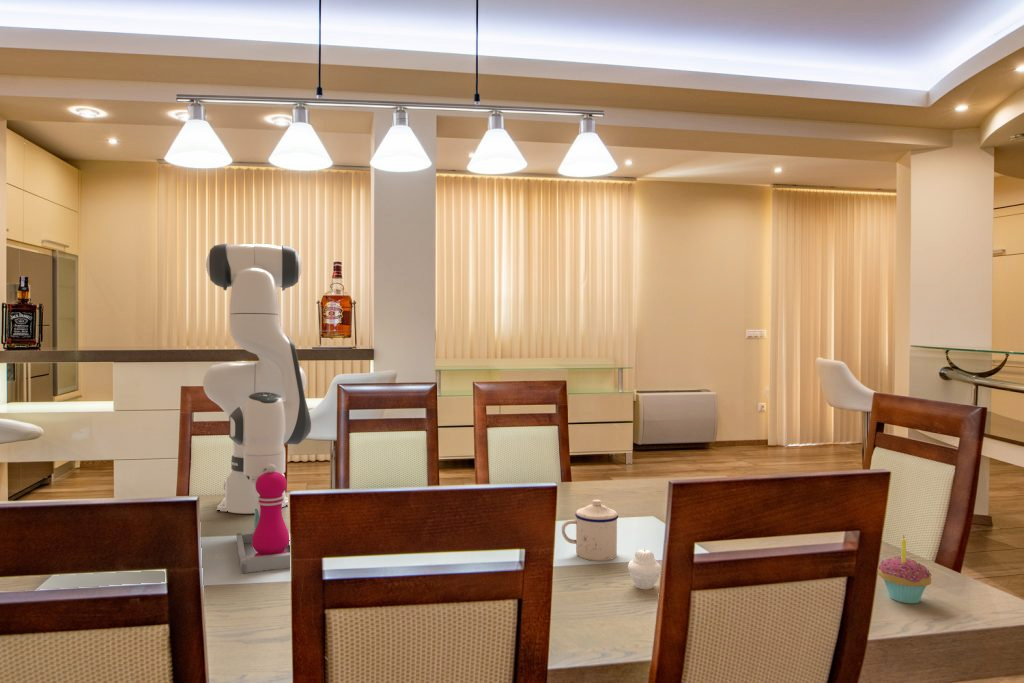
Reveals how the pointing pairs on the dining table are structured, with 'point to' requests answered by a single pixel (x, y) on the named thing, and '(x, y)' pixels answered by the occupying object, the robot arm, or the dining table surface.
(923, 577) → the cupcake
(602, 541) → the teacup with lid
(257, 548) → the pepper mill
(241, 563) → the grey rectangular frame
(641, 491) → the dining table surface
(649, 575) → the small white lidded pot
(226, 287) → the robot arm
